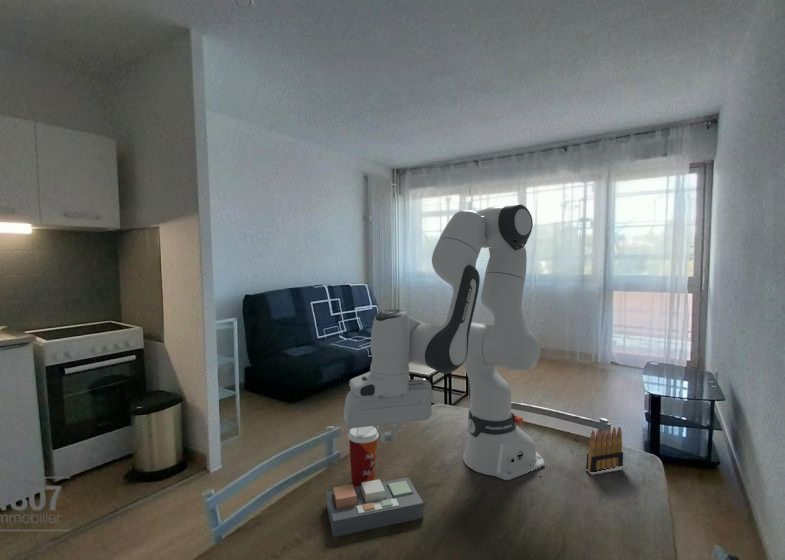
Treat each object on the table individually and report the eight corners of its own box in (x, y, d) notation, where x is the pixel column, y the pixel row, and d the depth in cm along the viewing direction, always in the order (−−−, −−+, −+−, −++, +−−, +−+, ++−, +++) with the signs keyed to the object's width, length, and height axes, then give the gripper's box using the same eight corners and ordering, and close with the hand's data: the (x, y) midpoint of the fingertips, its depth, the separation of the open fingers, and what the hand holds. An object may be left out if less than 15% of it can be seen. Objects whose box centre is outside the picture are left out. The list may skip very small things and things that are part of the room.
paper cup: (373, 495, 92) (374, 439, 91) (343, 491, 93) (343, 436, 92) (381, 476, 100) (381, 425, 99) (353, 473, 101) (353, 422, 100)
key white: (379, 489, 89) (379, 479, 89) (384, 500, 85) (385, 490, 85) (361, 492, 88) (361, 482, 88) (365, 504, 84) (365, 494, 84)
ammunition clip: (590, 475, 101) (592, 432, 100) (585, 471, 103) (587, 429, 102) (623, 470, 104) (625, 427, 103) (617, 466, 106) (619, 424, 105)
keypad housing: (407, 490, 94) (408, 475, 93) (423, 517, 84) (423, 500, 84) (326, 506, 88) (326, 489, 87) (333, 537, 78) (333, 518, 78)
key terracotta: (352, 494, 88) (352, 484, 87) (356, 506, 83) (356, 495, 83) (333, 497, 86) (333, 487, 86) (336, 510, 82) (336, 499, 82)
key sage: (405, 490, 92) (405, 480, 91) (411, 501, 87) (412, 491, 87) (388, 493, 90) (388, 483, 90) (393, 505, 86) (393, 495, 86)
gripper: (426, 374, 92) (424, 429, 93) (342, 380, 86) (341, 440, 87) (437, 382, 86) (435, 441, 87) (348, 390, 80) (347, 453, 81)
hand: (387, 441), depth 87 cm, fingers closed
